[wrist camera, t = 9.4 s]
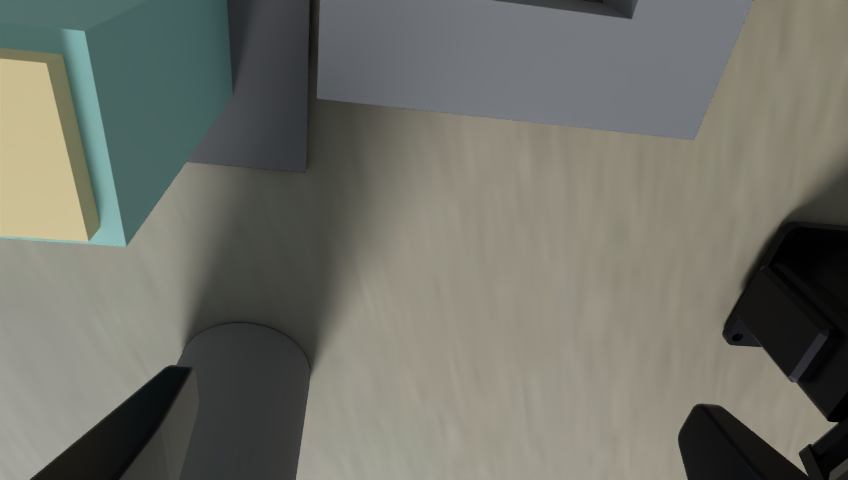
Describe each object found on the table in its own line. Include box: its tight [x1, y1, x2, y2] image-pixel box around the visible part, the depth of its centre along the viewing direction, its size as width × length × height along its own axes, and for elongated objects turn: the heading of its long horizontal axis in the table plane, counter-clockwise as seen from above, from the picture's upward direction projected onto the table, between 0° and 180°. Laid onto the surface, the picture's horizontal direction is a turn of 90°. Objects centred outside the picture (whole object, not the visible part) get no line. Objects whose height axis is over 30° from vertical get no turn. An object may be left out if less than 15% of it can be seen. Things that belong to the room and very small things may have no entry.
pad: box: [186, 0, 311, 173], centre depth 17 cm, size 9×9×1 cm
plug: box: [0, 0, 233, 246], centre depth 13 cm, size 4×4×10 cm
